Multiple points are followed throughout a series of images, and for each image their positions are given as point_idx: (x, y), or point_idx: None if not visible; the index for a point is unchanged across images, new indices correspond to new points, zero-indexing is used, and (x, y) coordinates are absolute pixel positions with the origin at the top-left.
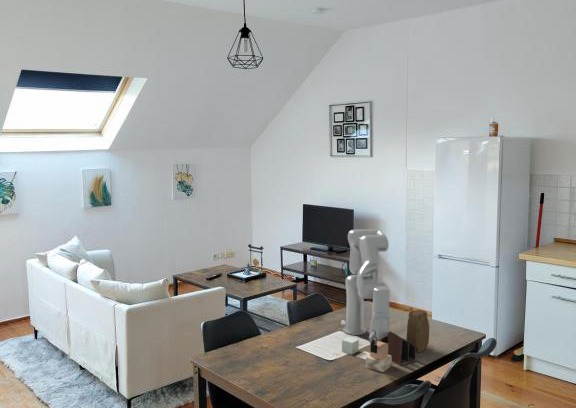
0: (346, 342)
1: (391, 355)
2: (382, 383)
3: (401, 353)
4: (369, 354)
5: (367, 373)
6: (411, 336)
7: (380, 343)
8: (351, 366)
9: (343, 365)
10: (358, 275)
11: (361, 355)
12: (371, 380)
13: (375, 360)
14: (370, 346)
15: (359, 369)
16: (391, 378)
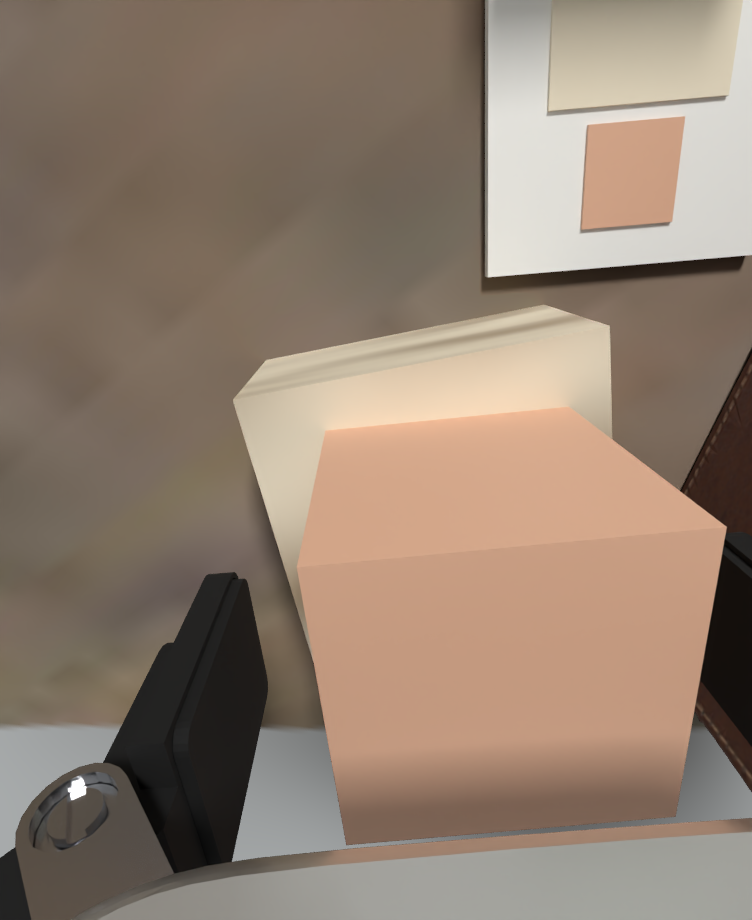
0: None
1: (740, 509)
2: (103, 715)
3: (722, 740)
4: (714, 98)
5: (141, 493)
6: None
7: (571, 704)
8: (107, 186)
9: (11, 45)
10: None
11: (575, 12)
12: (49, 621)
13: (286, 564)
14: (303, 537)
15: (138, 348)
16: (266, 710)
